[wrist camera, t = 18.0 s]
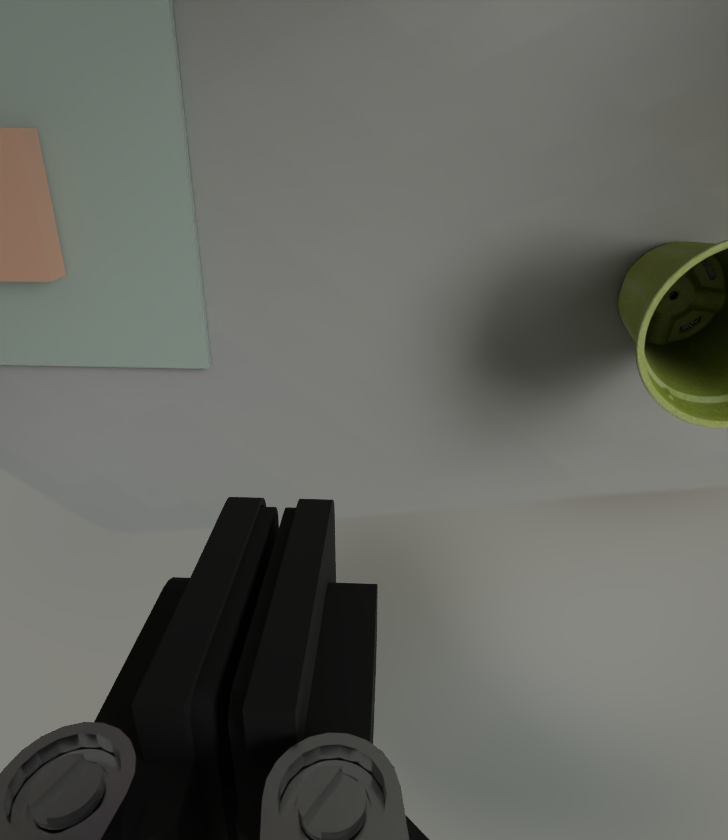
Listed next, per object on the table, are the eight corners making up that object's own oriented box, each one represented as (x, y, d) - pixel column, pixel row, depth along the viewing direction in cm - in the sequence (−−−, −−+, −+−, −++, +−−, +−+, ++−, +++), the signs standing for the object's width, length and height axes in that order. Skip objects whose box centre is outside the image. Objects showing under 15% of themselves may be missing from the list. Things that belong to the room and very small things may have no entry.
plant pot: (639, 397, 39) (700, 462, 32) (556, 284, 37) (600, 326, 29) (780, 304, 36) (885, 350, 29) (702, 174, 34) (794, 186, 26)
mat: (-131, -3, 32) (-140, -5, 32) (171, -5, 31) (167, -7, 31) (-29, 361, 40) (-35, 364, 40) (211, 365, 40) (208, 368, 39)
